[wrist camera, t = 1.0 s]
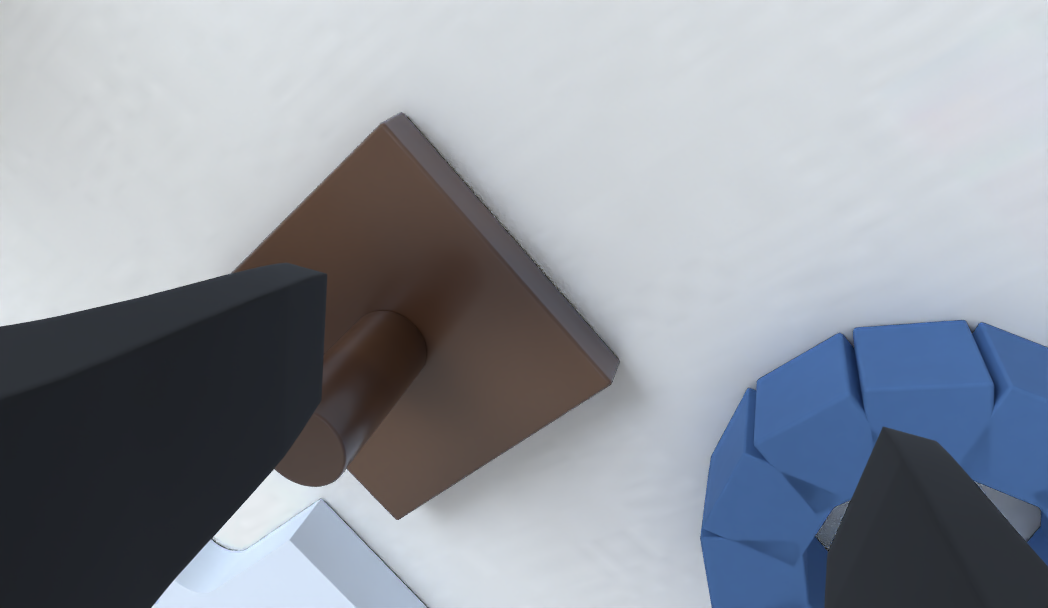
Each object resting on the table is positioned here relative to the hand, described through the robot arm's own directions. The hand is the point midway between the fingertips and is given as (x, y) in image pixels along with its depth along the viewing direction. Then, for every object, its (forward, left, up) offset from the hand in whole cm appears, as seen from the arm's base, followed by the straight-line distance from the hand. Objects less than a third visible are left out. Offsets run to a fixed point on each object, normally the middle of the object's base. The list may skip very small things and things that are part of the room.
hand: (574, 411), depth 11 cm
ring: (-10, 0, -9) cm, 13 cm away
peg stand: (+1, +7, -9) cm, 12 cm away
